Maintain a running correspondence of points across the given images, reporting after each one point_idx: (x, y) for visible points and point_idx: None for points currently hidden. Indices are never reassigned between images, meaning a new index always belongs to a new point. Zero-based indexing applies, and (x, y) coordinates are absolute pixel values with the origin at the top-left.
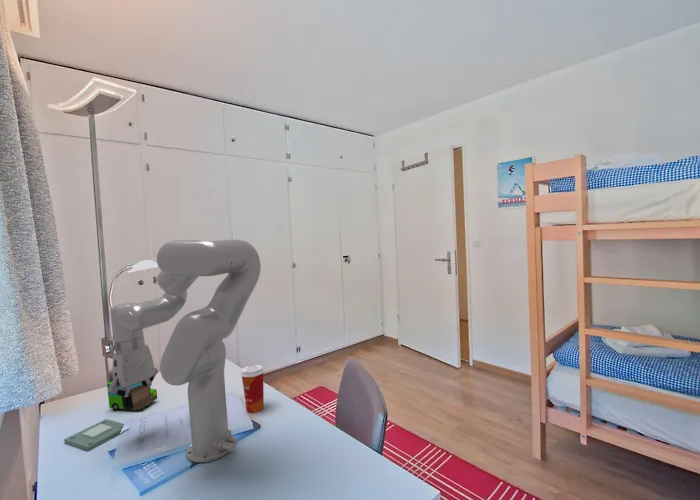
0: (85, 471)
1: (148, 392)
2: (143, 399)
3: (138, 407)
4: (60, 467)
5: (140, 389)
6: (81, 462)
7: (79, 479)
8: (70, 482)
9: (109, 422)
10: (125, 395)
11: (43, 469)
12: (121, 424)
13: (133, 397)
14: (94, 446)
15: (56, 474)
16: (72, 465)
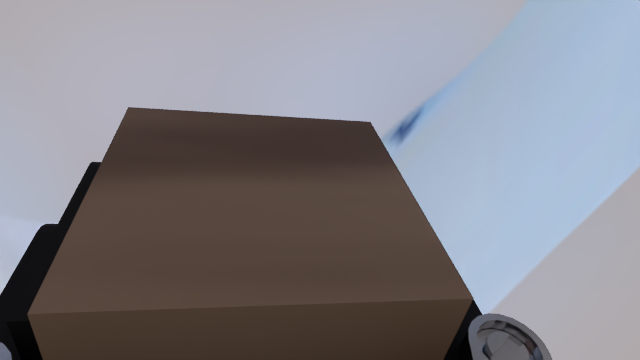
0: (563, 86)
1: (114, 208)
2: (242, 164)
3: (328, 126)
4: (523, 226)
5: (257, 338)
6: (493, 177)
7: (622, 50)
8: (636, 73)
9: None
10: (520, 353)
11: (531, 270)
12: None
13: (435, 238)
14: None
15: (568, 193)
16: (513, 193)
